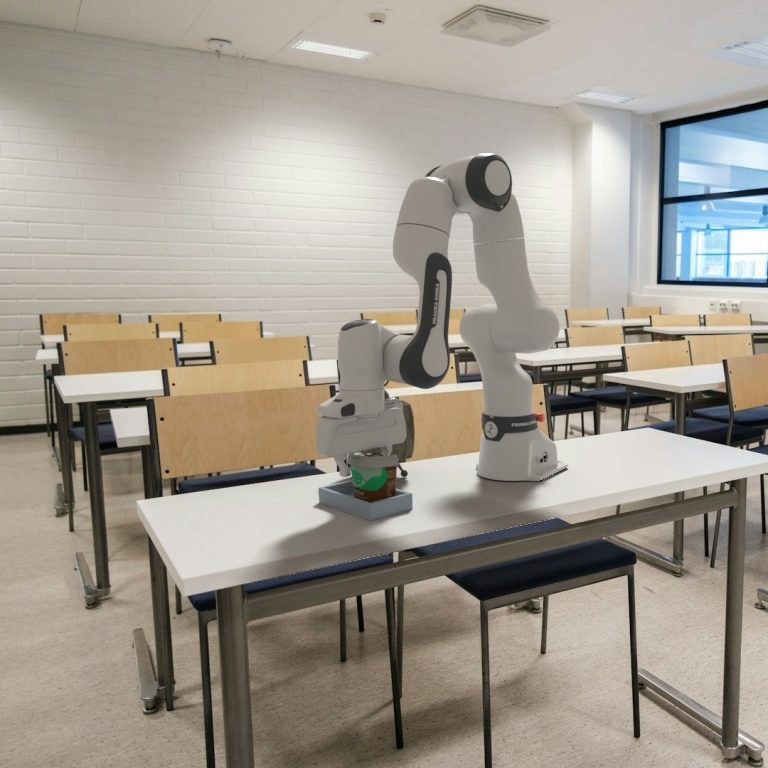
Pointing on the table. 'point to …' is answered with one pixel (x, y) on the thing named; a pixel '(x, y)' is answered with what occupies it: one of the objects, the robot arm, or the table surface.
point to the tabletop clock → (407, 446)
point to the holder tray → (345, 501)
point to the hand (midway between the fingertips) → (364, 471)
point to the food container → (373, 475)
